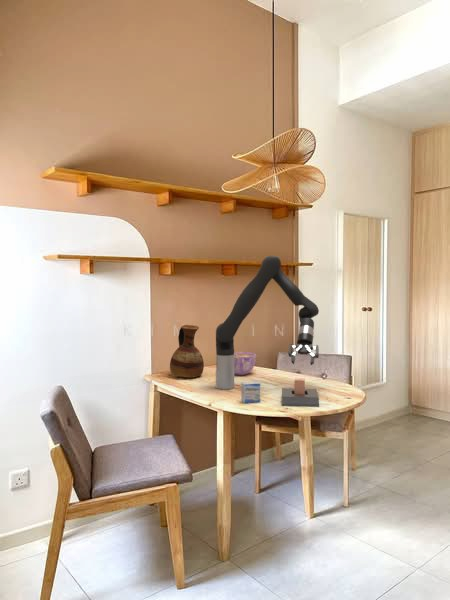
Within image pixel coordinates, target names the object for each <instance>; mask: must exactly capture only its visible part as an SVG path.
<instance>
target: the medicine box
mask: <svg viewBox="0 0 450 600" xmlns="http://www.w3.org/2000/svg"><path fill="white" fill-rule="evenodd" d="M240 384H241V385H240V387H241V390H240V394H241V399H240V400H241V402H242V403H244V404H256V403H261V383H260V382H259V381H251V382H250V381H249V382H241V383H240Z"/></svg>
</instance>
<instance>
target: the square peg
mask: <svg viewBox="0 0 450 600" xmlns="http://www.w3.org/2000/svg"><path fill="white" fill-rule="evenodd" d="M293 381H294V387H293V388H294V394H302V395H305V389H306V387H305V386H306V384H305V381H306V380H305V378H297V377H295V378H294V380H293Z"/></svg>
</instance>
